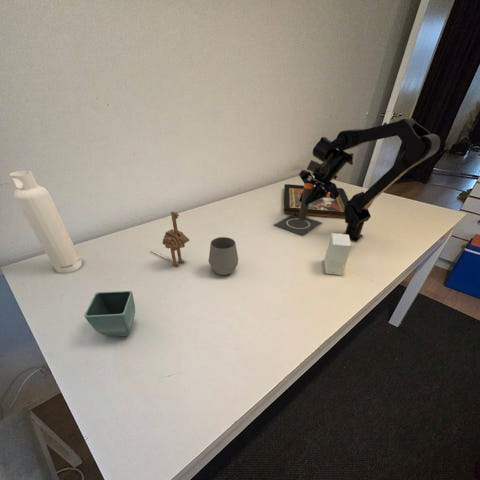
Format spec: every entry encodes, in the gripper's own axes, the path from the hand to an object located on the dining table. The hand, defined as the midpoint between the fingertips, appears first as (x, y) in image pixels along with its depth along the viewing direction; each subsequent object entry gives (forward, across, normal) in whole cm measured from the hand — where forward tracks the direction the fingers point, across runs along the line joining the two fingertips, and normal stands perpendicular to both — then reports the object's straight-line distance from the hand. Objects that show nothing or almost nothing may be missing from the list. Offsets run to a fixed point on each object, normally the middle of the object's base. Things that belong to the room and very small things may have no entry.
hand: (302, 202), depth 101 cm
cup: (+36, +14, -20) cm, 44 cm away
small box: (+12, +28, +4) cm, 31 cm away
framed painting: (-10, -21, +26) cm, 35 cm away
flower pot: (+60, +27, -45) cm, 80 cm away
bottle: (+68, -10, -52) cm, 87 cm away
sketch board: (+5, -4, +10) cm, 12 cm away
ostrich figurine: (+46, 0, -30) cm, 55 cm away
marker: (+4, 0, +6) cm, 7 cm away
